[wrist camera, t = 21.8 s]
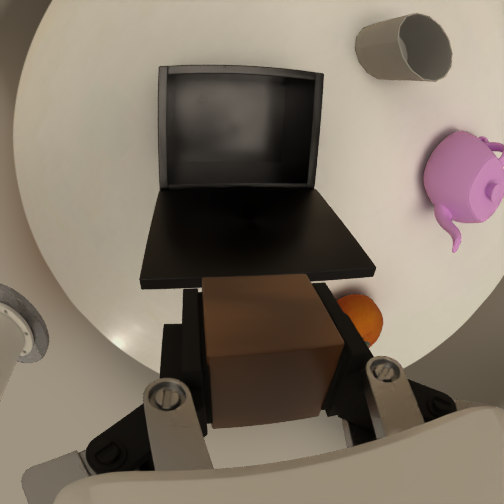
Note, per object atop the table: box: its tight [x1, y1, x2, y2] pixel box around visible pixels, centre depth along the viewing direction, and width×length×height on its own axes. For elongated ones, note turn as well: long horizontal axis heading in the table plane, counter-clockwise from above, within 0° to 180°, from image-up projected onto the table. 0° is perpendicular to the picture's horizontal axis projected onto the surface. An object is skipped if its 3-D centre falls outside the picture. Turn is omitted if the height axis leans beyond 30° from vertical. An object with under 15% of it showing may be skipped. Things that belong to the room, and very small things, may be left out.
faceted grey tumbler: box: [355, 13, 452, 82], centre depth 29 cm, size 8×8×10 cm
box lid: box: [139, 189, 376, 290], centre depth 25 cm, size 12×15×5 cm
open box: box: [158, 65, 324, 191], centre depth 31 cm, size 12×15×11 cm
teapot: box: [423, 131, 504, 253], centre depth 38 cm, size 20×13×12 cm, turn 144°
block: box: [202, 274, 344, 429], centre depth 10 cm, size 4×4×4 cm
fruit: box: [337, 294, 383, 348], centre depth 49 cm, size 11×10×8 cm
